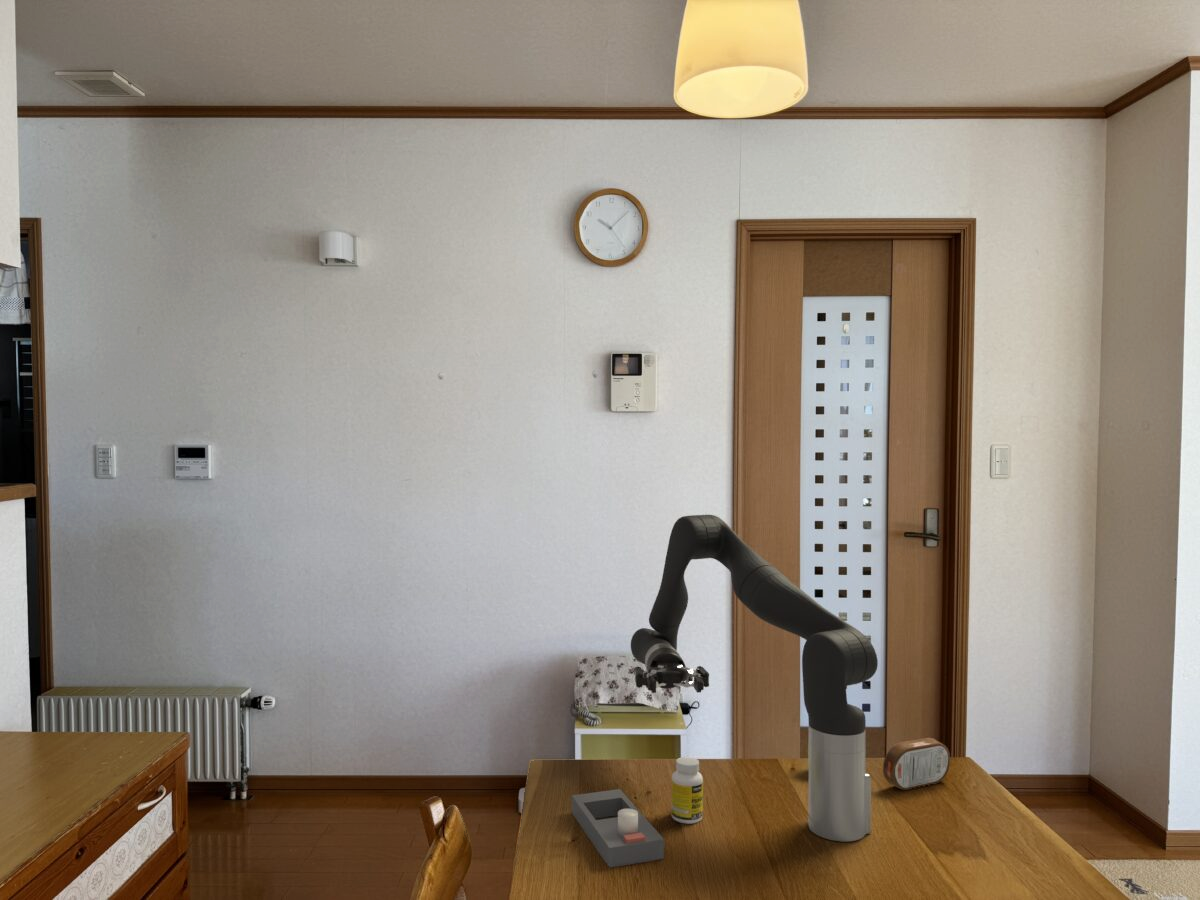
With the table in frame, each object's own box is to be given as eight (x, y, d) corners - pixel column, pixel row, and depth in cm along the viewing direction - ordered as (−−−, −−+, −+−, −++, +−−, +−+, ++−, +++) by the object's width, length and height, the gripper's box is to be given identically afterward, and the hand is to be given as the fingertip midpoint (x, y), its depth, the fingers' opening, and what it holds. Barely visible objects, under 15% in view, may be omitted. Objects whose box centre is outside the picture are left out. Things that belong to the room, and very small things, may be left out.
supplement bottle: (694, 827, 134) (694, 769, 134) (665, 819, 137) (666, 762, 137) (707, 815, 139) (708, 759, 139) (679, 808, 142) (680, 753, 142)
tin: (940, 776, 157) (940, 733, 157) (953, 782, 154) (953, 738, 154) (881, 788, 151) (881, 744, 151) (893, 795, 148) (893, 749, 148)
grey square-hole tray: (619, 805, 143) (619, 772, 143) (663, 858, 124) (664, 819, 124) (571, 812, 140) (571, 778, 140) (609, 867, 121) (609, 827, 121)
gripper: (630, 647, 165) (639, 667, 149) (698, 646, 166) (714, 667, 150) (630, 683, 165) (639, 708, 149) (698, 682, 166) (714, 707, 150)
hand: (676, 687), depth 150 cm, fingers open, 8 cm apart
